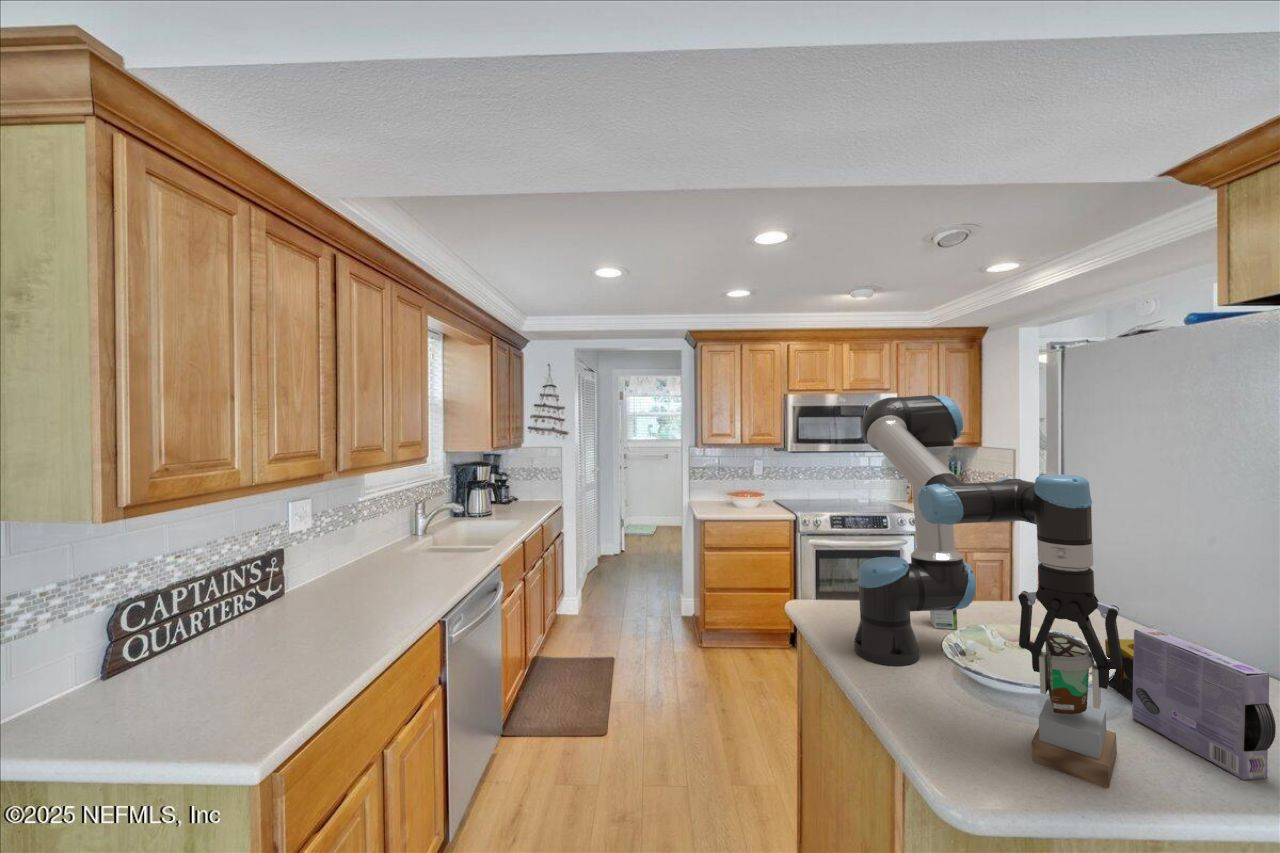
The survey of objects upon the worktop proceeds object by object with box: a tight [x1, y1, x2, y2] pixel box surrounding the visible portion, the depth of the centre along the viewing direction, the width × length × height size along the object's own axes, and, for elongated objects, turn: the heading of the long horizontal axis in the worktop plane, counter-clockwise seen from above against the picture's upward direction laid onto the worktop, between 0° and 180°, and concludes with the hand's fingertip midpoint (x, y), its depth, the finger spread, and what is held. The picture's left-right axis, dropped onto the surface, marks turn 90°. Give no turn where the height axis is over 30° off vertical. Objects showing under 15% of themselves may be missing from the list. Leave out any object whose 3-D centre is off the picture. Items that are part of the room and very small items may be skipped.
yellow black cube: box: [1104, 638, 1134, 703], centre depth 111 cm, size 10×10×10 cm
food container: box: [1044, 631, 1095, 714], centre depth 93 cm, size 12×6×10 cm, turn 148°
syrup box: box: [929, 609, 958, 630], centre depth 152 cm, size 6×6×14 cm
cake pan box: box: [1131, 627, 1277, 781], centre depth 94 cm, size 19×5×18 cm, turn 5°
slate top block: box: [1038, 694, 1107, 760], centre depth 94 cm, size 8×10×4 cm
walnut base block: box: [1031, 726, 1118, 789], centre depth 93 cm, size 10×12×4 cm
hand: (1070, 697), depth 93 cm, fingers closed on food container, 6 cm apart
